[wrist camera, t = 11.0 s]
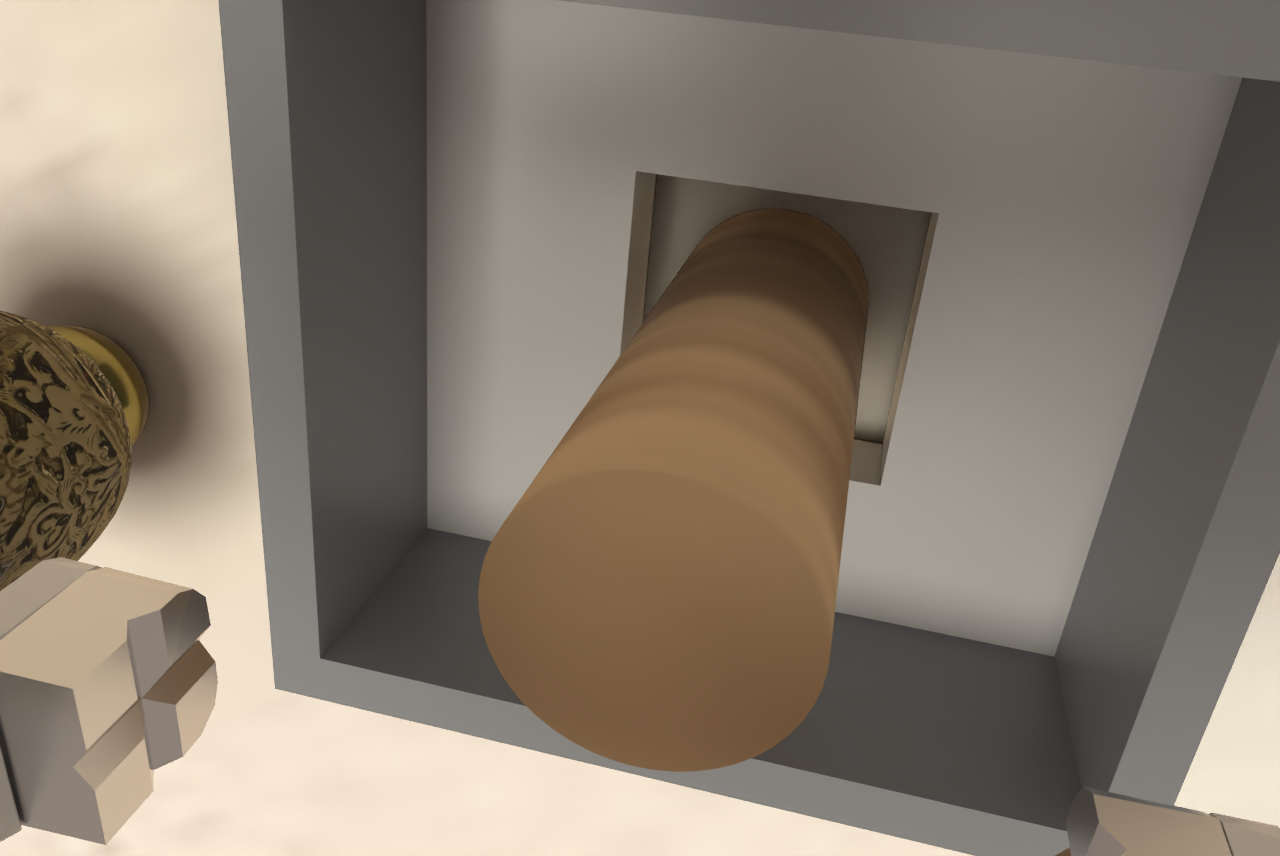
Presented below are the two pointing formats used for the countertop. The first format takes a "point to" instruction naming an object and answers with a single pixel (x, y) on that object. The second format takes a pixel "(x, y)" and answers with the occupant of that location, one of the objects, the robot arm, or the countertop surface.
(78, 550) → the ornate bronze lampshade
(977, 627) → the socket box
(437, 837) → the countertop surface
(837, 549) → the oak peg
